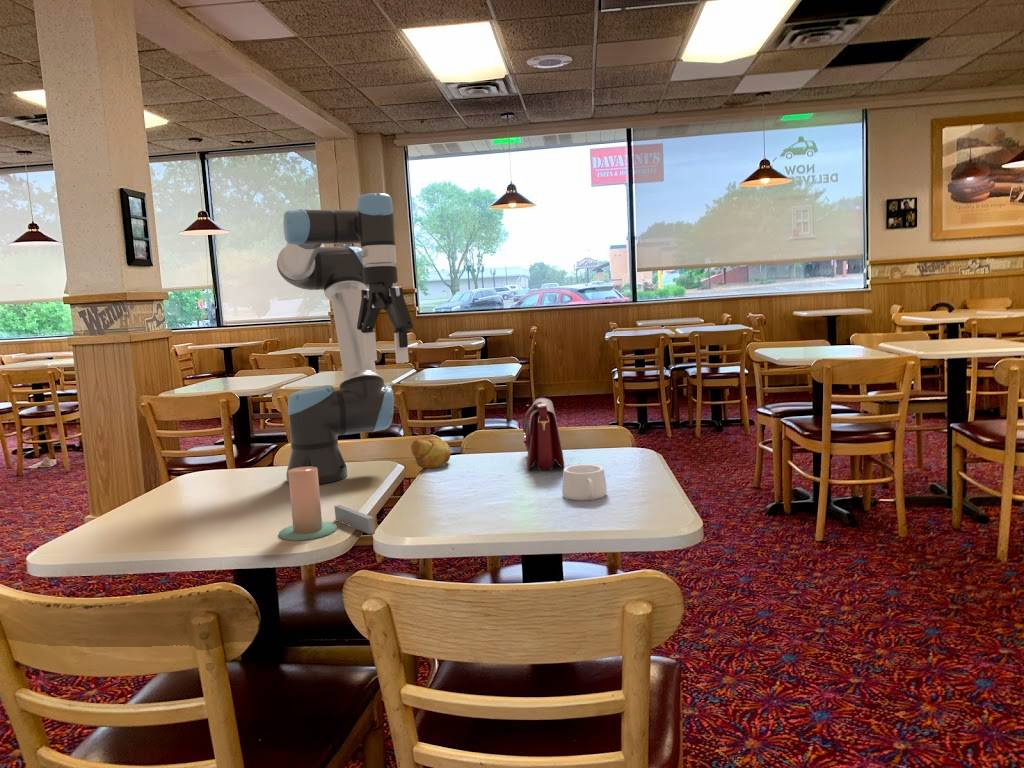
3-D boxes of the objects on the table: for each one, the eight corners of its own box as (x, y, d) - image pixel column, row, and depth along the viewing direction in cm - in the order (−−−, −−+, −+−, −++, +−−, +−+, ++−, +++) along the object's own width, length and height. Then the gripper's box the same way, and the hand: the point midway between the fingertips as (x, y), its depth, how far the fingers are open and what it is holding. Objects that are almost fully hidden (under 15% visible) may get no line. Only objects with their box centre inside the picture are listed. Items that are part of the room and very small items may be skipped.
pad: (270, 532, 149) (269, 530, 149) (321, 519, 156) (321, 518, 156) (293, 544, 141) (293, 542, 141) (346, 530, 148) (346, 528, 148)
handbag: (524, 452, 214) (521, 391, 212) (561, 450, 214) (558, 389, 212) (522, 475, 186) (518, 405, 185) (565, 473, 186) (562, 403, 184)
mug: (558, 492, 169) (557, 465, 168) (600, 488, 170) (599, 462, 169) (569, 506, 157) (568, 478, 156) (615, 502, 158) (614, 474, 158)
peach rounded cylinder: (288, 530, 149) (283, 470, 147) (314, 523, 152) (310, 465, 151) (300, 535, 144) (295, 474, 143) (327, 529, 148) (322, 469, 147)
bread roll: (424, 459, 211) (422, 431, 210) (457, 459, 210) (456, 430, 209) (410, 470, 199) (408, 440, 198) (445, 470, 197) (444, 439, 196)
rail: (335, 520, 155) (334, 505, 155) (340, 518, 156) (339, 504, 156) (369, 534, 145) (368, 518, 144) (374, 532, 145) (373, 517, 145)
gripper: (337, 269, 174) (344, 361, 176) (394, 262, 155) (401, 365, 157) (366, 269, 179) (373, 358, 181) (425, 261, 159) (431, 361, 162)
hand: (386, 362), depth 169 cm, fingers open, 13 cm apart
